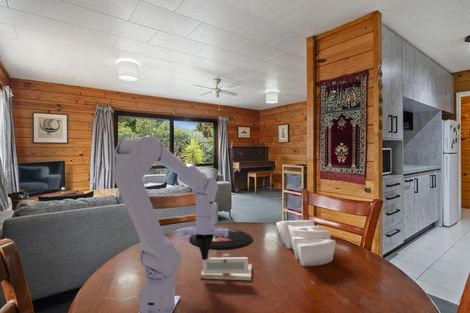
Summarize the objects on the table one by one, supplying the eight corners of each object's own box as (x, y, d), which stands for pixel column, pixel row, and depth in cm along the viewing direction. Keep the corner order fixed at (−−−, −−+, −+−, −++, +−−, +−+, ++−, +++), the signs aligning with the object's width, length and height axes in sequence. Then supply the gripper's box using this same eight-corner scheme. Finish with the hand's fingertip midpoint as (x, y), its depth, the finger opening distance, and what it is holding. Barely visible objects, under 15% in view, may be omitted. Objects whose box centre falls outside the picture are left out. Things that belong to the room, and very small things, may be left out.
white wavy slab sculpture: (344, 271, 81) (344, 240, 81) (296, 272, 80) (296, 241, 80) (307, 237, 116) (307, 215, 116) (274, 237, 115) (274, 215, 115)
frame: (248, 274, 73) (247, 259, 73) (203, 274, 74) (202, 259, 74) (248, 271, 75) (247, 257, 75) (204, 271, 76) (203, 257, 76)
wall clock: (179, 252, 103) (248, 253, 97) (178, 242, 103) (247, 242, 97) (200, 233, 129) (256, 232, 123) (200, 224, 129) (255, 223, 123)
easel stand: (251, 280, 75) (250, 257, 75) (200, 278, 76) (200, 255, 76) (251, 267, 84) (251, 246, 84) (206, 265, 85) (206, 244, 85)
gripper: (229, 212, 79) (229, 254, 79) (186, 211, 80) (186, 252, 80) (226, 218, 72) (226, 263, 72) (179, 217, 73) (179, 261, 73)
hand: (205, 258), depth 76 cm, fingers closed
